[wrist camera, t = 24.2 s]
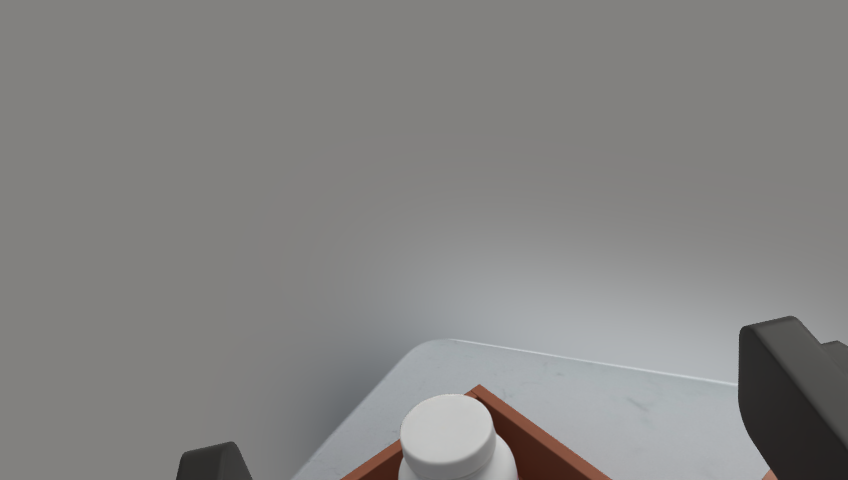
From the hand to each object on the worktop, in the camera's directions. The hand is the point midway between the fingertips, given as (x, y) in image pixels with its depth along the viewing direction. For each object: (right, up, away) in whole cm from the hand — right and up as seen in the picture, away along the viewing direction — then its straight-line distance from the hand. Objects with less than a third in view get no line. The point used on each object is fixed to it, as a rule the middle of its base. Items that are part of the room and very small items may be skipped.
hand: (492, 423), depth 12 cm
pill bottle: (+2, -16, +31) cm, 35 cm away
